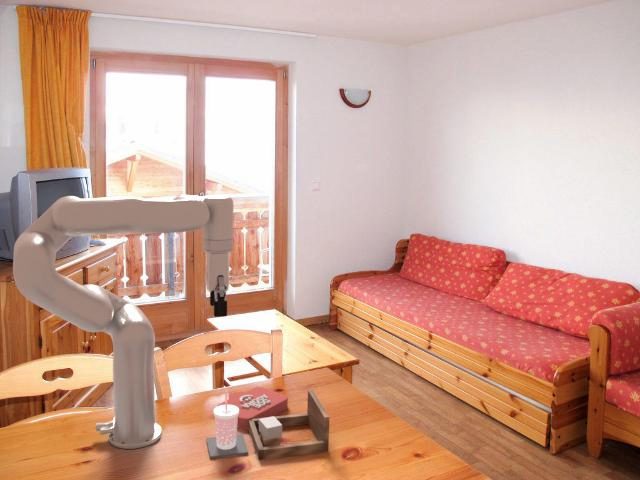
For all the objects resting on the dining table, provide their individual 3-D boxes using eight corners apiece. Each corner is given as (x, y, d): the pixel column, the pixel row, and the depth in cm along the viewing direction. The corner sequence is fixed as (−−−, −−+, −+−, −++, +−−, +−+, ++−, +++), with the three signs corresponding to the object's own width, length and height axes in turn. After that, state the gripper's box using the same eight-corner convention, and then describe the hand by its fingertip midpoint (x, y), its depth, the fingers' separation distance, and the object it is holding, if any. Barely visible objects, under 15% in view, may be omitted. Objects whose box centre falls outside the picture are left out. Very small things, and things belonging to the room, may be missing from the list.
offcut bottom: (263, 451, 147) (263, 440, 146) (260, 439, 152) (260, 428, 152) (279, 449, 148) (280, 438, 147) (275, 437, 153) (276, 426, 153)
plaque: (251, 381, 179) (290, 395, 170) (251, 393, 179) (290, 408, 171) (206, 401, 164) (246, 418, 156) (206, 414, 165) (246, 432, 156)
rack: (258, 459, 142) (259, 424, 141) (248, 427, 158) (248, 395, 156) (328, 451, 147) (329, 416, 145) (311, 421, 162) (312, 389, 161)
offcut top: (266, 439, 146) (266, 428, 146) (258, 430, 151) (258, 419, 150) (282, 436, 148) (282, 425, 148) (273, 427, 153) (273, 416, 152)
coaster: (210, 458, 142) (210, 456, 142) (206, 440, 151) (206, 437, 151) (248, 454, 145) (248, 452, 145) (242, 436, 153) (242, 433, 153)
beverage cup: (226, 435, 152) (226, 383, 149) (244, 443, 148) (244, 389, 146) (208, 445, 147) (207, 391, 145) (226, 453, 143) (226, 398, 141)
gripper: (200, 239, 160) (200, 302, 163) (206, 252, 143) (206, 321, 146) (228, 238, 162) (228, 300, 165) (237, 251, 145) (237, 320, 148)
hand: (218, 310), depth 156 cm, fingers open, 9 cm apart
